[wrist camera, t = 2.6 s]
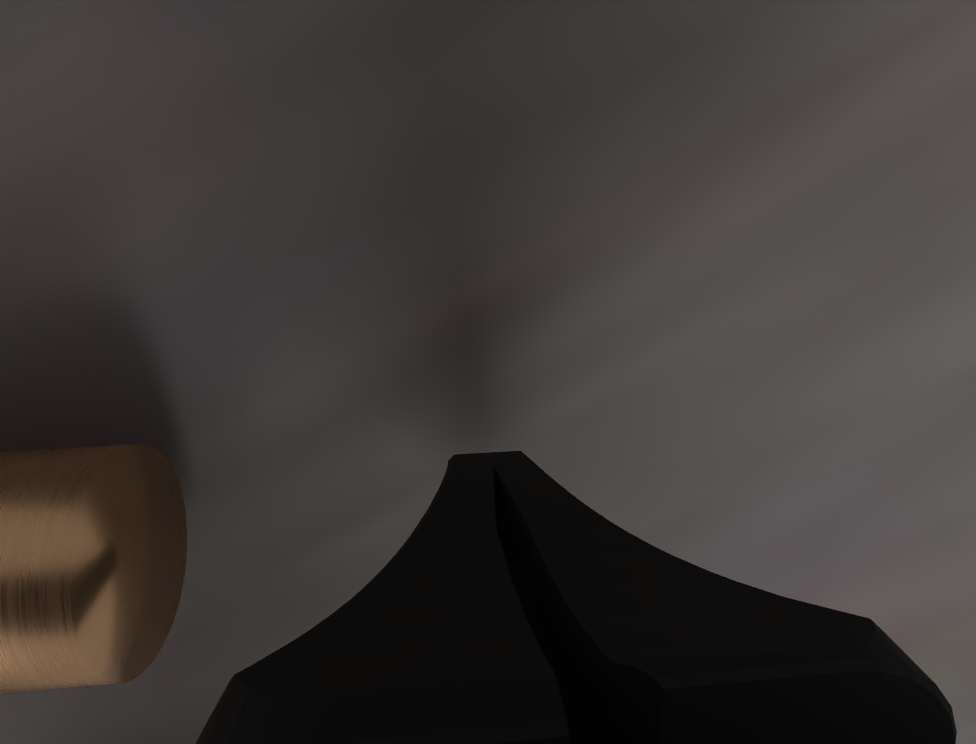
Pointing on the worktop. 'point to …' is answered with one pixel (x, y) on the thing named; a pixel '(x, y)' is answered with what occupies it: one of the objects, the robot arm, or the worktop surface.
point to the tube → (87, 564)
